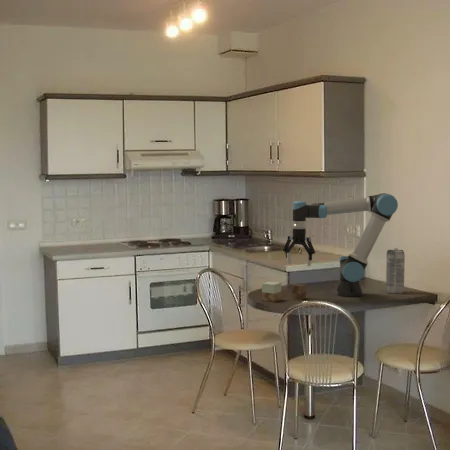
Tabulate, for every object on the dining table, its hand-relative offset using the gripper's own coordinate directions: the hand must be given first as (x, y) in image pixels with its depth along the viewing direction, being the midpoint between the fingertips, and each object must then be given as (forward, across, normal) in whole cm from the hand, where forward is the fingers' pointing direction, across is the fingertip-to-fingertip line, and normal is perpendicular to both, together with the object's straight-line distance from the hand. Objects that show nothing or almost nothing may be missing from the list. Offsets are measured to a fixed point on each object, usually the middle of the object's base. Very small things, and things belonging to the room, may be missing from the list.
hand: (298, 264), depth 411 cm
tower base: (+20, -10, -13) cm, 26 cm away
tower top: (+15, -10, -13) cm, 22 cm away
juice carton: (+19, +37, +50) cm, 65 cm away
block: (+20, 0, 0) cm, 20 cm away
